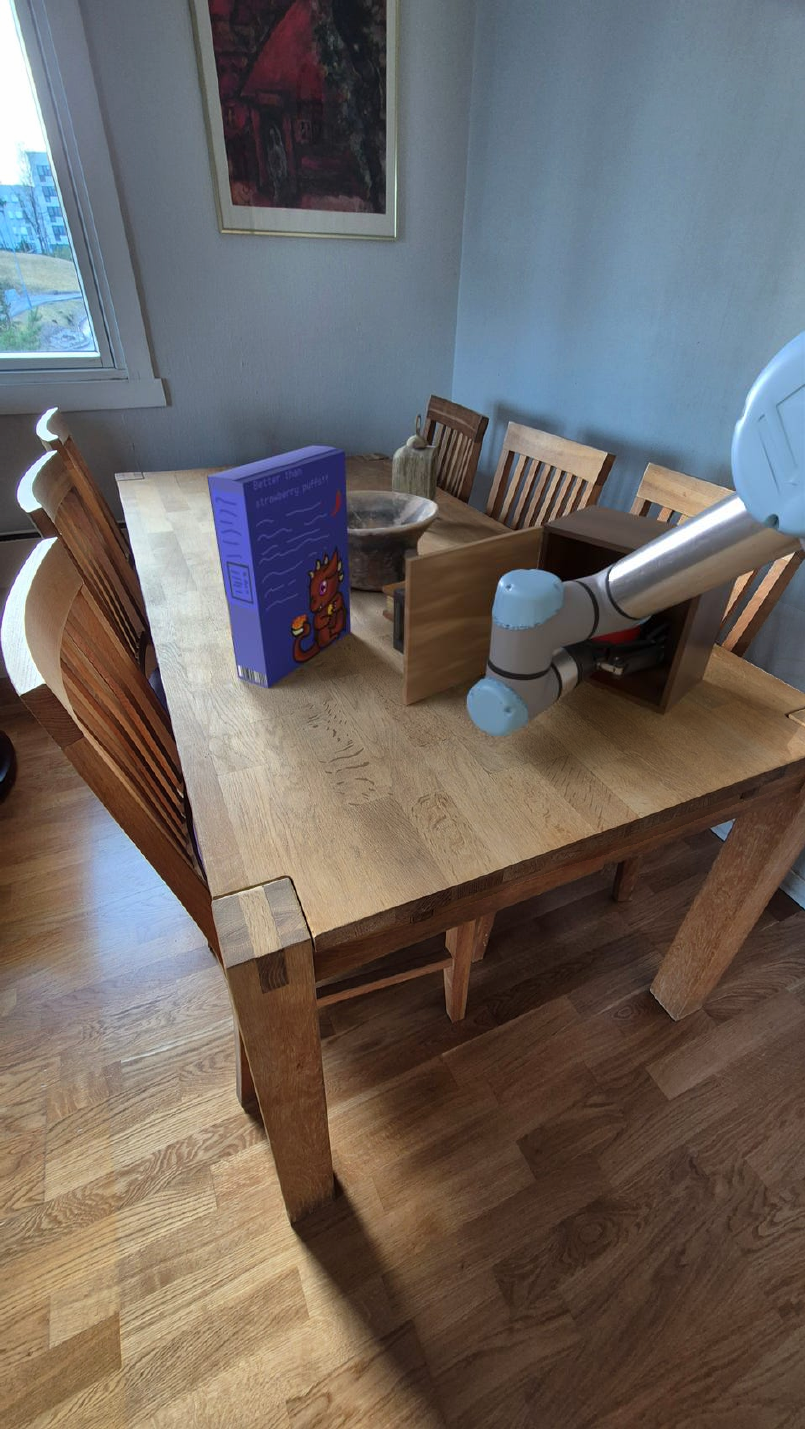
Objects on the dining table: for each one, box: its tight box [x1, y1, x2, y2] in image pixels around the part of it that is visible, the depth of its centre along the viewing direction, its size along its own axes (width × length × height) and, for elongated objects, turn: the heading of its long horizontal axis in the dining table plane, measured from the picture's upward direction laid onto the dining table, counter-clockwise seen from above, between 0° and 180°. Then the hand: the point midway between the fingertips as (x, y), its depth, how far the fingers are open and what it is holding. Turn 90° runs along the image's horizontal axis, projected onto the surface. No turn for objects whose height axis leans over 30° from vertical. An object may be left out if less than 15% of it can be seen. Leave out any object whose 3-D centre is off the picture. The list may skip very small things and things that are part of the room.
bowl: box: [346, 490, 441, 592], centre depth 124 cm, size 27×26×15 cm
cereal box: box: [206, 444, 352, 689], centre depth 94 cm, size 22×6×30 cm, turn 149°
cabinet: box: [537, 504, 738, 716], centre depth 94 cm, size 14×24×22 cm, turn 47°
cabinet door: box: [392, 524, 544, 706], centre depth 92 cm, size 6×24×22 cm, turn 127°
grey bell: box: [391, 413, 439, 503], centre depth 152 cm, size 14×9×25 cm, turn 170°
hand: (630, 617), depth 98 cm, fingers open, 11 cm apart
